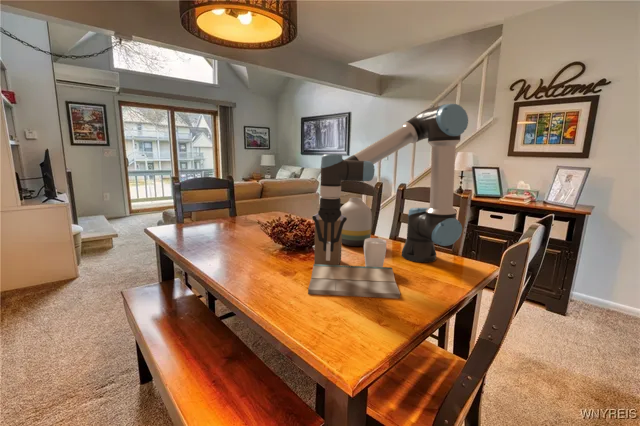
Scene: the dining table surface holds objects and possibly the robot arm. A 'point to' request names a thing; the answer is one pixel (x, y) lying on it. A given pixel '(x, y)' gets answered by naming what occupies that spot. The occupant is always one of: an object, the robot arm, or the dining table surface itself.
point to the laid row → (353, 288)
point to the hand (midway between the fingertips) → (328, 259)
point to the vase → (356, 222)
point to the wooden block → (319, 252)
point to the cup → (374, 252)
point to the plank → (353, 273)
